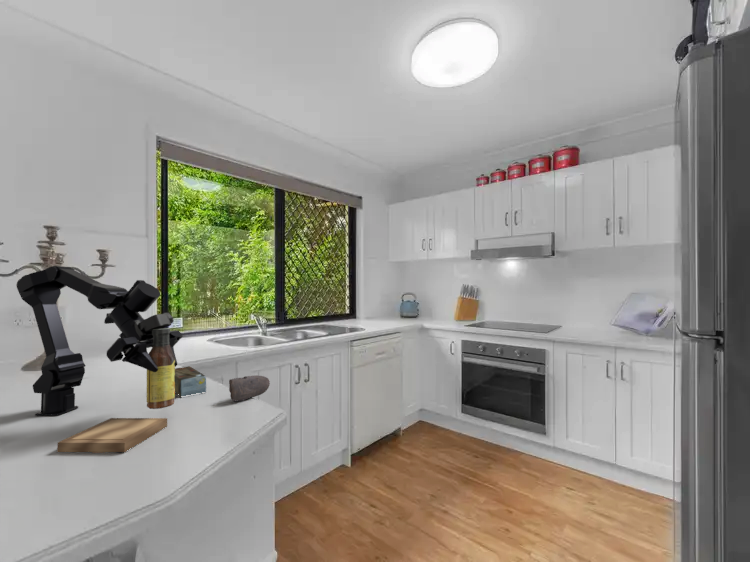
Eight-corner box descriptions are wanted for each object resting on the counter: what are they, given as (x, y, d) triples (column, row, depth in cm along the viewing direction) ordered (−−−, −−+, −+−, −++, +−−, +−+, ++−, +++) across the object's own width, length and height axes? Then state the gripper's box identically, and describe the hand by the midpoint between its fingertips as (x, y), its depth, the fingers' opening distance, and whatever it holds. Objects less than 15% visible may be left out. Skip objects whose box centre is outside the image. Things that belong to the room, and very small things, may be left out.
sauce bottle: (180, 404, 90) (182, 327, 91) (156, 411, 85) (159, 329, 86) (163, 401, 93) (165, 327, 94) (139, 408, 87) (142, 328, 88)
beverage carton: (179, 398, 108) (179, 377, 108) (165, 387, 122) (165, 368, 122) (206, 393, 113) (207, 373, 113) (190, 383, 127) (190, 365, 127)
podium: (57, 452, 71) (57, 442, 71) (110, 426, 85) (111, 417, 85) (124, 452, 70) (124, 442, 70) (167, 426, 84) (167, 417, 84)
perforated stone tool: (264, 391, 116) (264, 370, 116) (274, 393, 113) (274, 372, 113) (222, 402, 104) (222, 379, 104) (232, 405, 101) (232, 381, 101)
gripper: (118, 304, 81) (156, 353, 79) (177, 302, 100) (210, 342, 97) (89, 336, 83) (126, 385, 80) (153, 328, 101) (185, 368, 98)
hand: (166, 368), depth 89 cm, fingers closed on sauce bottle, 6 cm apart
